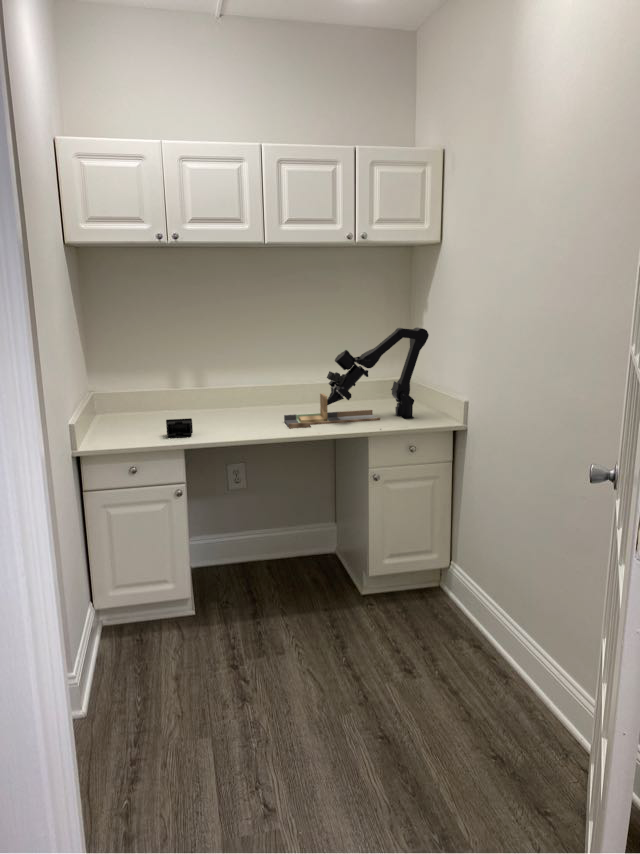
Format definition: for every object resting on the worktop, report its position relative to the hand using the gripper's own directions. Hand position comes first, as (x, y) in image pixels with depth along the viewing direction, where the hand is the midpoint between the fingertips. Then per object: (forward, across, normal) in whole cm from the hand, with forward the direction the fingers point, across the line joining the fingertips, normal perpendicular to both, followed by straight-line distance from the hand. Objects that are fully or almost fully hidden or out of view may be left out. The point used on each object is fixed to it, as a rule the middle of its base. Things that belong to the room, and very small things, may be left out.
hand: (326, 404), depth 279 cm
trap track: (+4, 0, +7) cm, 8 cm away
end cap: (+49, +6, -37) cm, 62 cm away
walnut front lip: (+4, +6, +7) cm, 10 cm away
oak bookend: (+9, 0, +1) cm, 9 cm away
